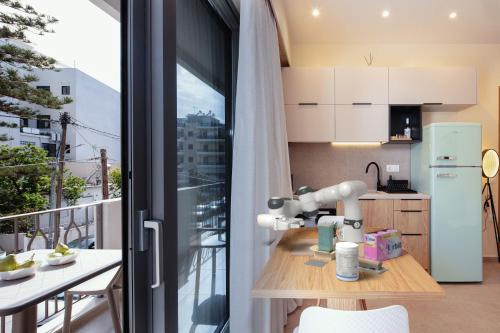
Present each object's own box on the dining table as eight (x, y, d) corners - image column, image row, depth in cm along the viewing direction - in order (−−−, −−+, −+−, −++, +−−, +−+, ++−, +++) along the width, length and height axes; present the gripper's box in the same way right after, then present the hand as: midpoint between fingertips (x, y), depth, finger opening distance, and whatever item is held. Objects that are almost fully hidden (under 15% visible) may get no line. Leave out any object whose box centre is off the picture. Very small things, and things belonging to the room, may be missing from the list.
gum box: (390, 252, 180) (390, 227, 181) (404, 255, 174) (403, 230, 174) (363, 259, 167) (363, 233, 167) (377, 262, 161) (376, 235, 161)
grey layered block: (342, 257, 156) (352, 253, 163) (342, 267, 156) (352, 263, 162) (378, 264, 143) (388, 260, 150) (378, 275, 143) (388, 270, 149)
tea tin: (318, 257, 169) (318, 224, 169) (322, 255, 173) (321, 222, 174) (329, 259, 166) (329, 225, 166) (333, 256, 170) (332, 223, 170)
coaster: (303, 265, 158) (303, 263, 158) (311, 260, 165) (311, 259, 165) (321, 268, 153) (321, 266, 153) (328, 263, 160) (328, 261, 160)
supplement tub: (337, 273, 145) (337, 240, 145) (359, 276, 141) (359, 242, 141) (334, 280, 136) (333, 245, 136) (357, 283, 132) (357, 247, 132)
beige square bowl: (307, 259, 168) (306, 249, 168) (318, 252, 180) (318, 243, 180) (334, 263, 159) (334, 253, 159) (344, 256, 172) (344, 246, 172)
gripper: (290, 225, 193) (311, 227, 185) (272, 231, 176) (295, 233, 168) (290, 215, 193) (311, 216, 185) (272, 219, 176) (295, 221, 168)
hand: (303, 225), depth 176 cm, fingers open, 8 cm apart
